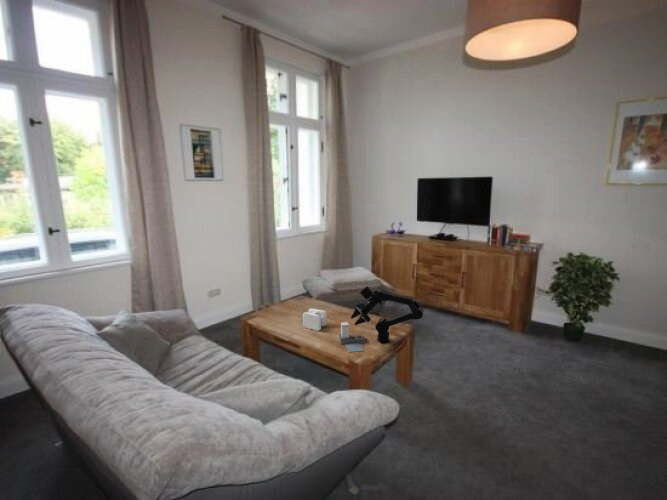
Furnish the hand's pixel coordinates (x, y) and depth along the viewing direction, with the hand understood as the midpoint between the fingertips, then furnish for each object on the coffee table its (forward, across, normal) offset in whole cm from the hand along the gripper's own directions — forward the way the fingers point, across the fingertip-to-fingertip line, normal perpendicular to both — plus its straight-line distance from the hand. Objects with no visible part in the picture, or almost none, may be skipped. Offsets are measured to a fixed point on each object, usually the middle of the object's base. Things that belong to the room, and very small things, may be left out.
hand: (352, 321), depth 224 cm
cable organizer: (+25, -27, -3) cm, 37 cm away
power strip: (+10, 0, +10) cm, 14 cm away
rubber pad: (+10, +9, +9) cm, 16 cm away
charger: (+11, 0, +5) cm, 12 cm away
